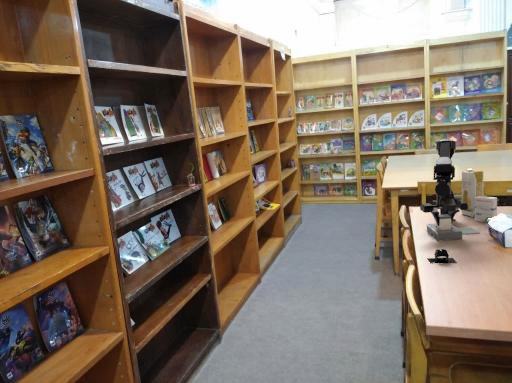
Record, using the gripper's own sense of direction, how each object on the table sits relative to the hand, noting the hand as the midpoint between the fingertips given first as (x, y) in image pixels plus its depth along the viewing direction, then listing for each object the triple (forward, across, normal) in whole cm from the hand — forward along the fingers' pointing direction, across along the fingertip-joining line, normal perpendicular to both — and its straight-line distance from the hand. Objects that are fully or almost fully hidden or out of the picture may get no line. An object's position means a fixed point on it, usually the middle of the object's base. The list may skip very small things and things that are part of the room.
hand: (443, 225), depth 179 cm
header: (+4, 0, 0) cm, 4 cm away
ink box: (+5, +26, +17) cm, 31 cm away
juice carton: (+5, +25, +29) cm, 39 cm away
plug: (+5, 0, 0) cm, 5 cm away
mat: (+4, +11, +3) cm, 12 cm away
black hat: (+5, -12, -29) cm, 32 cm away
